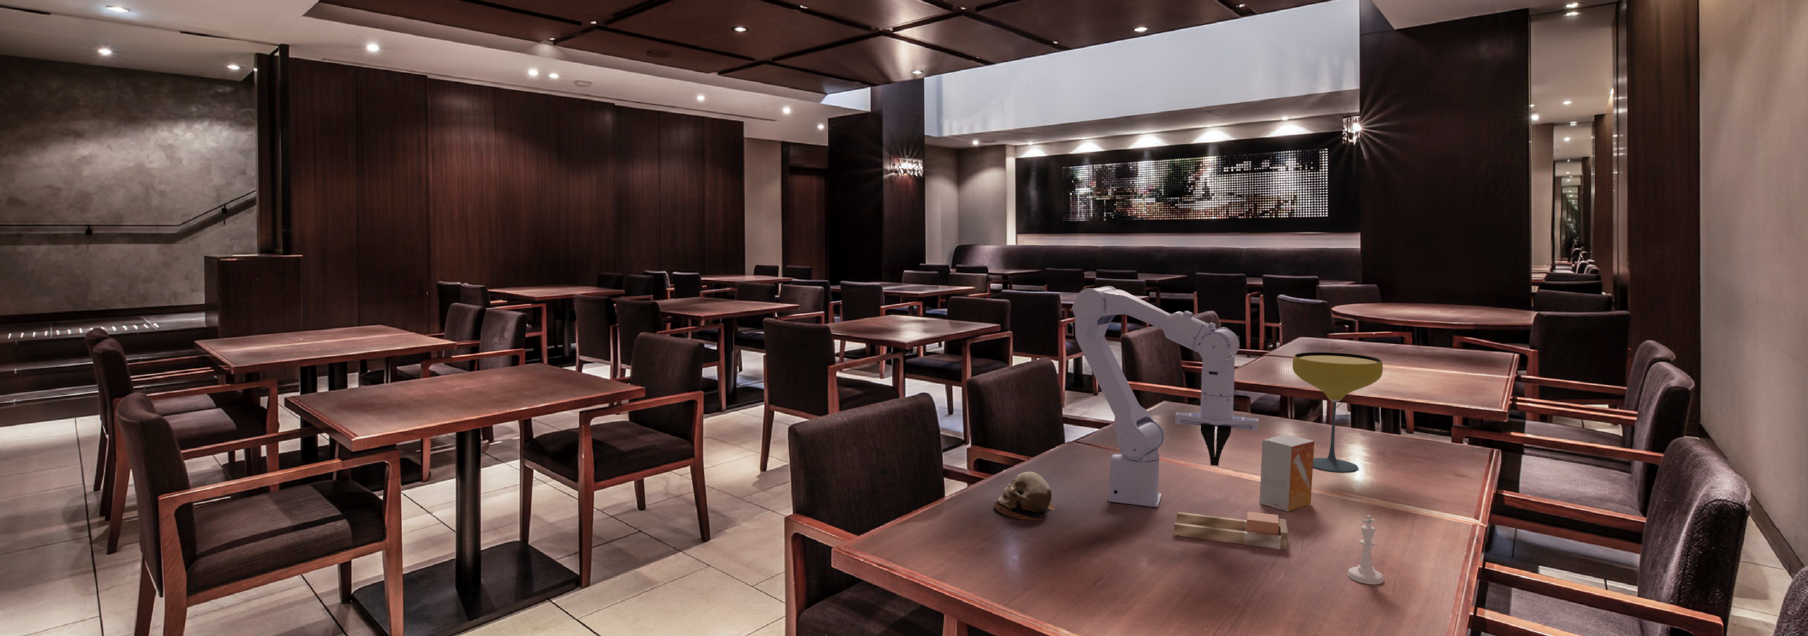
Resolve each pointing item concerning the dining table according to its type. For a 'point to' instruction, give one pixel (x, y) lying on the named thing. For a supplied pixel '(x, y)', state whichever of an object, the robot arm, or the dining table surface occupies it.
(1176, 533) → the chute
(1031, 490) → the skull
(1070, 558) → the dining table surface
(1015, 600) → the dining table surface
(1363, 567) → the chess piece
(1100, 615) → the dining table surface
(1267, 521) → the block
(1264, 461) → the small box
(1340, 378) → the cocktail glass
